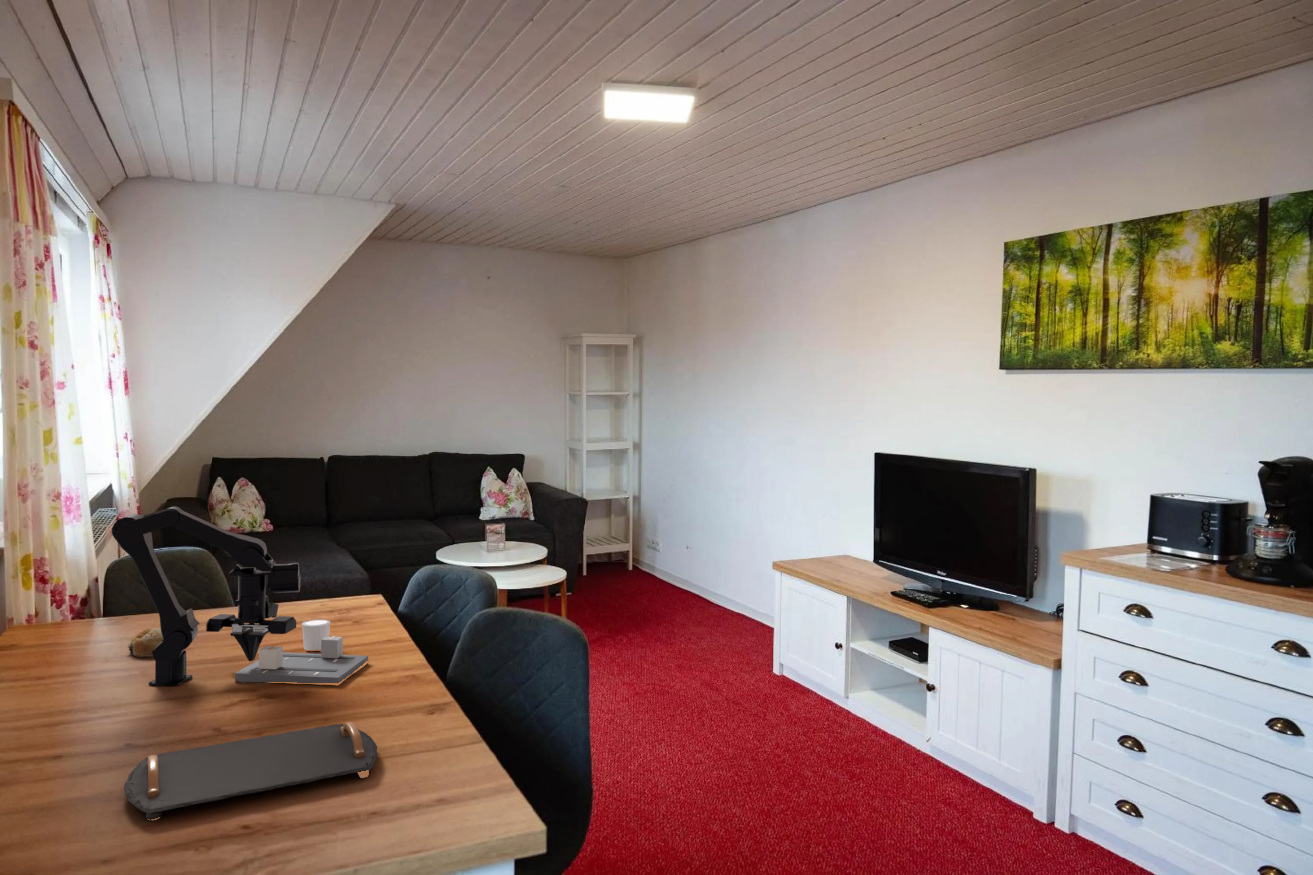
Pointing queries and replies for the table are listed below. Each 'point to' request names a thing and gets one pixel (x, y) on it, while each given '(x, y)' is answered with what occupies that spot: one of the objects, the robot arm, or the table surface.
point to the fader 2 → (331, 647)
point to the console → (304, 669)
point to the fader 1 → (270, 657)
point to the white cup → (315, 633)
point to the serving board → (247, 767)
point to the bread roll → (145, 642)
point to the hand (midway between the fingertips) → (251, 660)
